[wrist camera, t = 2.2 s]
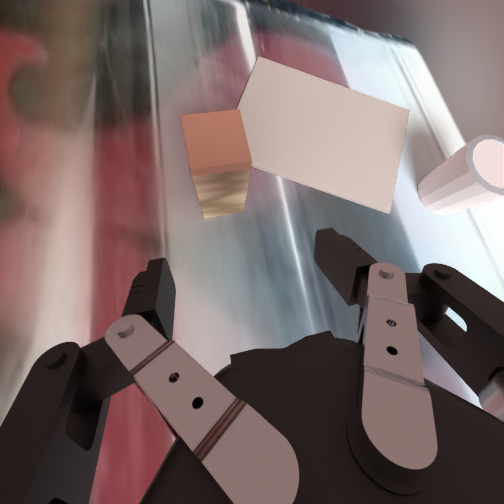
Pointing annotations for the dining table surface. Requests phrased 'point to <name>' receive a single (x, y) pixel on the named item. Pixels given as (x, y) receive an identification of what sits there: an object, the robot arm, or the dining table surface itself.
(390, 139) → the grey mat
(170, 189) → the dining table surface
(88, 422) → the robot arm
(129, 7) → the dining table surface
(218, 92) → the dining table surface
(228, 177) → the birch block
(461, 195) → the beige tapered cup
